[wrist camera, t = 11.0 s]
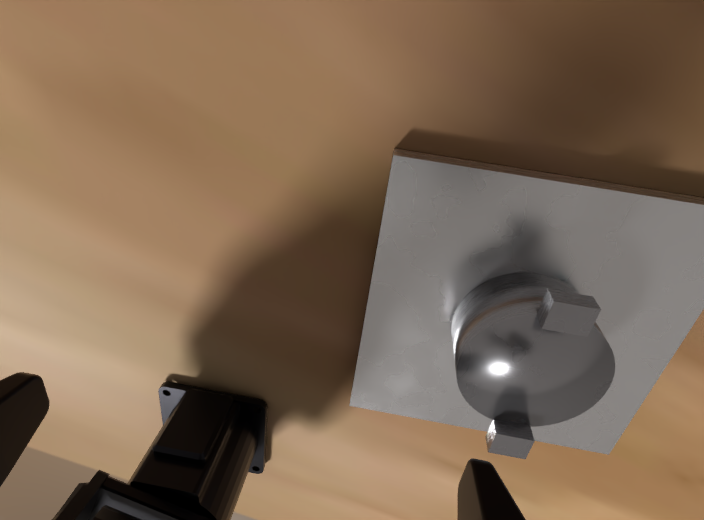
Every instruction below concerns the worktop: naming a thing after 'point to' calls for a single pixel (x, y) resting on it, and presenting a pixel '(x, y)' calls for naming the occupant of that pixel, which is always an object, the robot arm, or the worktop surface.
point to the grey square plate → (525, 301)
